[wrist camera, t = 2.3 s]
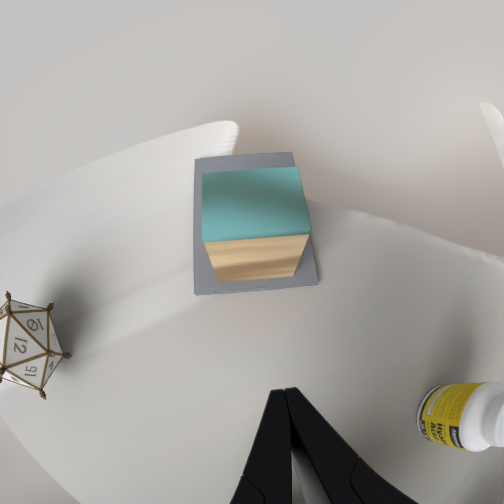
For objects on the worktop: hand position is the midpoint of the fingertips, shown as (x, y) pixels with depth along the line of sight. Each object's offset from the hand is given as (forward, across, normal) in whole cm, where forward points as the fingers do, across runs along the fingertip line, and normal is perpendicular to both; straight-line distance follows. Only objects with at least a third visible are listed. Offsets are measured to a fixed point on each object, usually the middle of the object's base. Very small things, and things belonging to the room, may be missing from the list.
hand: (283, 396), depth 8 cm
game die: (+11, +20, +8) cm, 24 cm away
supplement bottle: (+5, -15, +14) cm, 21 cm away
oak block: (+16, 0, +2) cm, 16 cm away
